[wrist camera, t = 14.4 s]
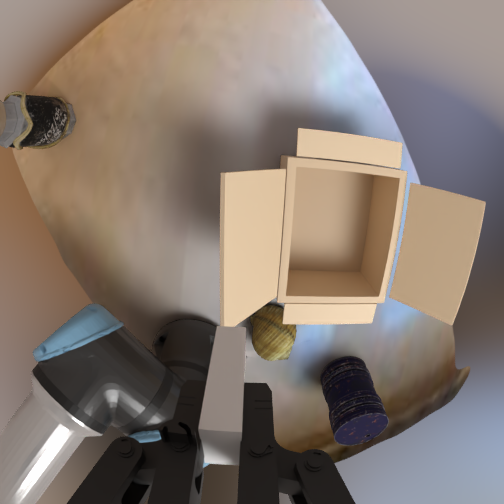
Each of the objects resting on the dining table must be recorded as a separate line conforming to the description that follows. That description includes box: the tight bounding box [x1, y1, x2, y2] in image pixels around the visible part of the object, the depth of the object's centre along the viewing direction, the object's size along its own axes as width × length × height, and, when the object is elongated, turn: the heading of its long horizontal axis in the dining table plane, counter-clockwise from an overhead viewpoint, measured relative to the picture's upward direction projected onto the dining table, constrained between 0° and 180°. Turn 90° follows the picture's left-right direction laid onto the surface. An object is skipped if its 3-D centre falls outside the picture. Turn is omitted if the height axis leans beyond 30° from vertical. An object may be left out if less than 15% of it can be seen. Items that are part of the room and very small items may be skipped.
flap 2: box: [389, 183, 486, 325], centre depth 30 cm, size 10×15×1 cm
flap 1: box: [220, 169, 286, 327], centre depth 30 cm, size 10×15×1 cm
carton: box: [277, 128, 407, 324], centre depth 38 cm, size 15×25×9 cm, turn 178°
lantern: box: [0, 91, 76, 150], centre depth 25 cm, size 9×8×25 cm
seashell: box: [250, 305, 296, 361], centre depth 47 cm, size 10×7×8 cm
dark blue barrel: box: [321, 356, 389, 445], centre depth 46 cm, size 10×10×15 cm
